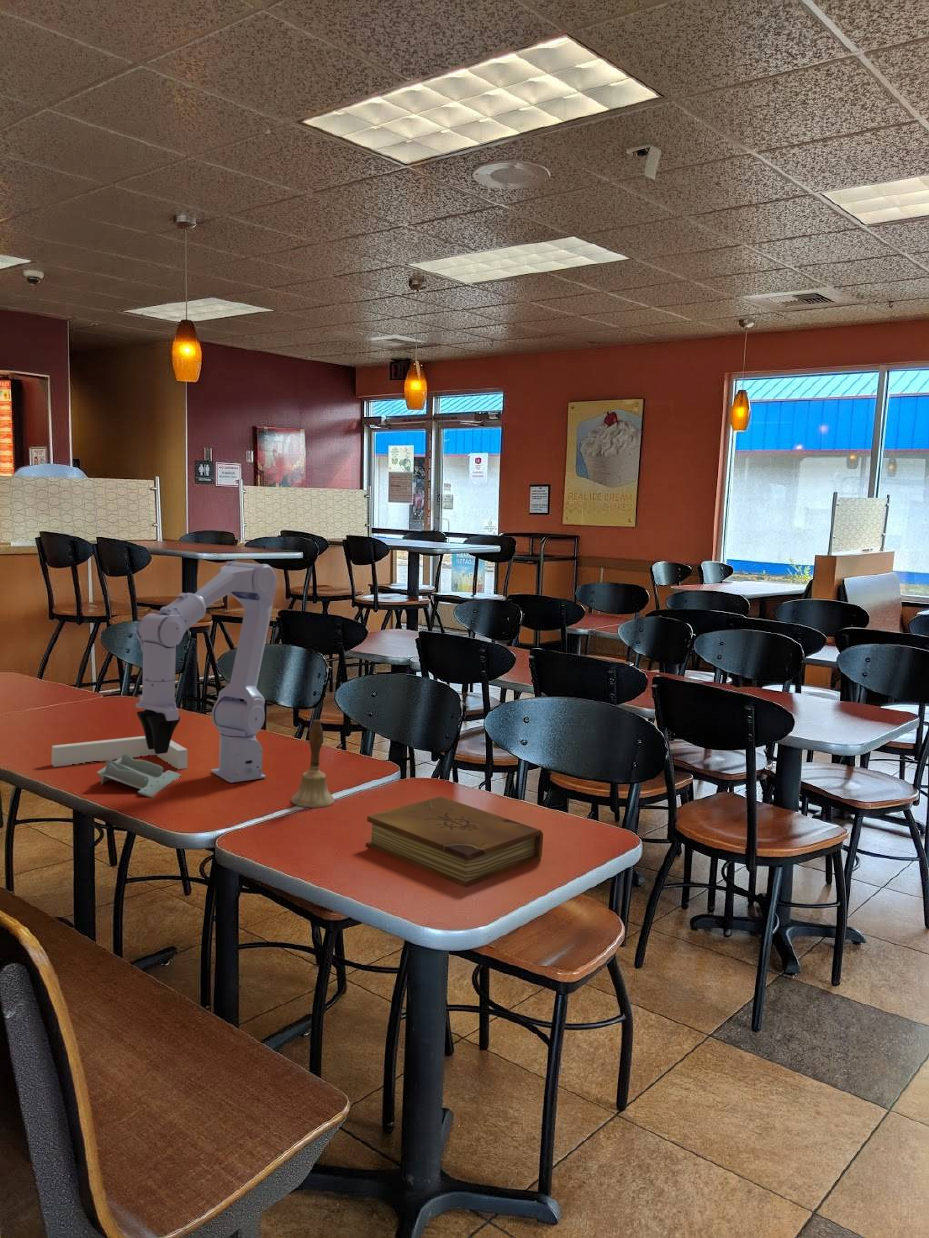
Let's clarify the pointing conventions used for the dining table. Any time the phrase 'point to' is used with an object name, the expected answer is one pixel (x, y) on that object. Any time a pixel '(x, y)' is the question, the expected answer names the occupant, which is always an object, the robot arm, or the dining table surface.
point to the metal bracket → (138, 774)
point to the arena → (115, 751)
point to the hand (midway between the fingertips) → (157, 750)
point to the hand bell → (314, 776)
